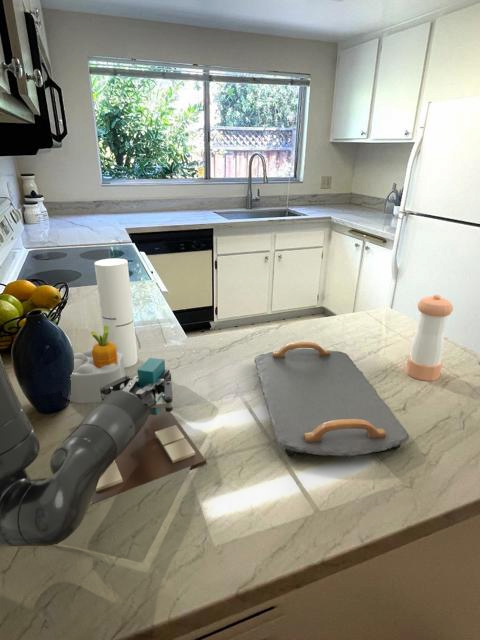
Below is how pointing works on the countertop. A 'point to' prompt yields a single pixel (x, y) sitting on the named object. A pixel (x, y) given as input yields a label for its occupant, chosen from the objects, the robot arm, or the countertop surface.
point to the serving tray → (324, 403)
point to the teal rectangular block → (151, 374)
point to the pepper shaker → (429, 339)
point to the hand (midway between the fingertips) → (159, 373)
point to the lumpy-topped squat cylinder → (92, 377)
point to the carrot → (103, 350)
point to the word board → (149, 456)
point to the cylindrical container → (117, 306)
